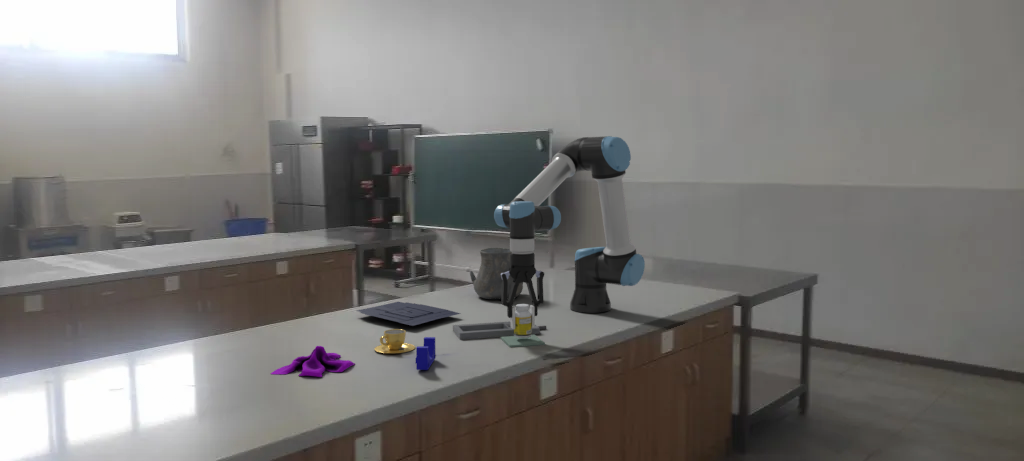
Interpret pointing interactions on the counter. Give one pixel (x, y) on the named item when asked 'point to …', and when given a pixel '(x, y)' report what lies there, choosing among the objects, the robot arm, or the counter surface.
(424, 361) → the cable clip
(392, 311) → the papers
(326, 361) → the cloth
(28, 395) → the counter surface
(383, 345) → the cup
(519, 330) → the supplement bottle
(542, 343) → the rubber mat
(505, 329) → the rectangular frame
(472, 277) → the vessel
